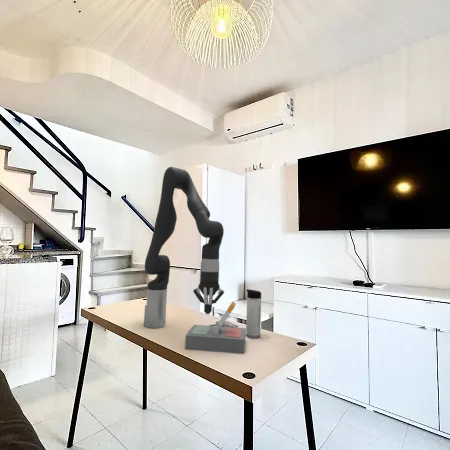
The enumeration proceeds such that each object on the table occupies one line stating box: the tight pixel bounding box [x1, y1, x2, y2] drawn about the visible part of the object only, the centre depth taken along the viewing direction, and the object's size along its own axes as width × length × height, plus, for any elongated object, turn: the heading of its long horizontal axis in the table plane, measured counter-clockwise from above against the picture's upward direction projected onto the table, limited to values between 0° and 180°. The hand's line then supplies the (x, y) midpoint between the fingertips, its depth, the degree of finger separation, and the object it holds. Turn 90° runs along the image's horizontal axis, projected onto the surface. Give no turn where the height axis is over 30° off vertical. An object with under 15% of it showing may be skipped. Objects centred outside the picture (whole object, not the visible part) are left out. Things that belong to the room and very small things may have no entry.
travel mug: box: [245, 288, 262, 339], centre depth 124 cm, size 6×7×20 cm
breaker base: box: [184, 320, 246, 354], centre depth 112 cm, size 22×14×8 cm, turn 83°
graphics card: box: [208, 320, 240, 328], centre depth 128 cm, size 17×4×12 cm
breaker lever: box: [216, 301, 237, 329], centre depth 112 cm, size 2×6×11 cm
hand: (207, 313), depth 113 cm, fingers closed
